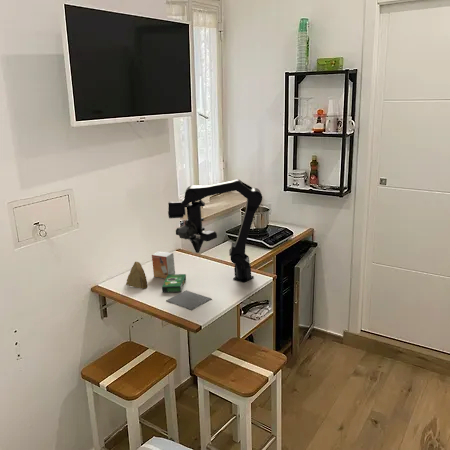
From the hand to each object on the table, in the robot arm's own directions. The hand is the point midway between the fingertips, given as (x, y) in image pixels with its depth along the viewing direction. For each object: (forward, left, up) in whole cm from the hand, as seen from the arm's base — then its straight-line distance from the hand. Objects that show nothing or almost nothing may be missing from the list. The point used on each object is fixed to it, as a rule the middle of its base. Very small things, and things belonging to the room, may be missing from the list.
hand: (197, 252), depth 200 cm
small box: (+18, +4, -13) cm, 23 cm away
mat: (-9, +16, -13) cm, 22 cm away
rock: (+20, +18, -13) cm, 30 cm away
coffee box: (+2, +15, -12) cm, 19 cm away
